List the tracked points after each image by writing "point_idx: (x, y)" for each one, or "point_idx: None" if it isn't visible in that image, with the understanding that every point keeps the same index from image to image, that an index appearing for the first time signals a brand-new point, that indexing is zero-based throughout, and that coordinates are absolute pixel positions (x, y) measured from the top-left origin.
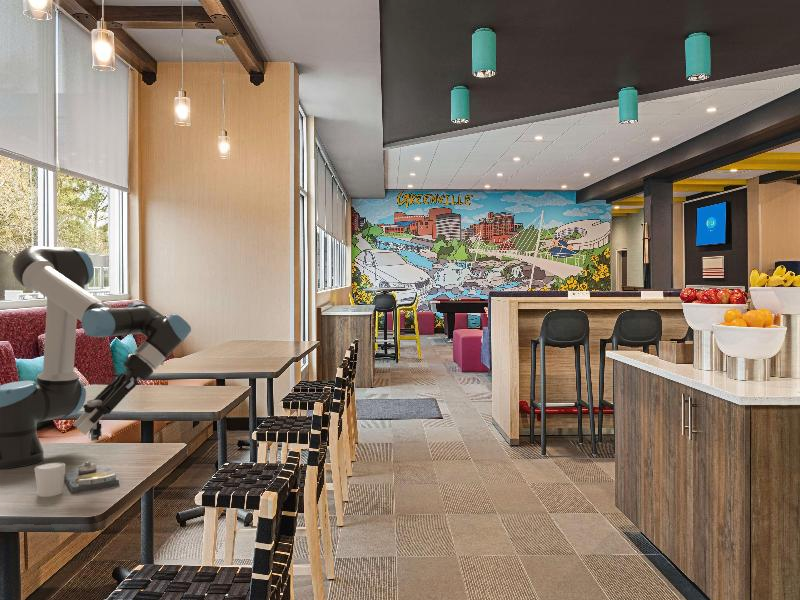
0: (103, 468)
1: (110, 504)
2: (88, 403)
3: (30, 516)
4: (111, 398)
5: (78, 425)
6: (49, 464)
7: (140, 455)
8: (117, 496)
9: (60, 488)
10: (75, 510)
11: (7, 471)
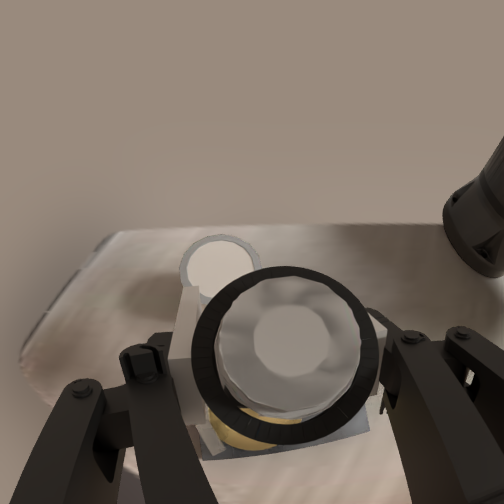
0: (352, 422)
1: None
2: (254, 291)
3: (85, 264)
4: (30, 464)
5: None
6: (243, 267)
7: None
8: None
9: None
10: (64, 338)
11: (427, 225)
